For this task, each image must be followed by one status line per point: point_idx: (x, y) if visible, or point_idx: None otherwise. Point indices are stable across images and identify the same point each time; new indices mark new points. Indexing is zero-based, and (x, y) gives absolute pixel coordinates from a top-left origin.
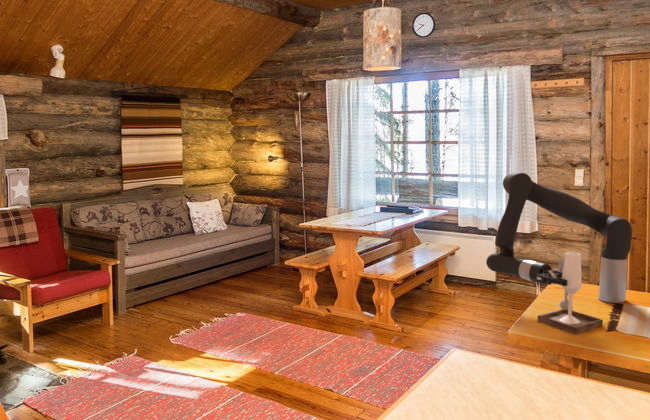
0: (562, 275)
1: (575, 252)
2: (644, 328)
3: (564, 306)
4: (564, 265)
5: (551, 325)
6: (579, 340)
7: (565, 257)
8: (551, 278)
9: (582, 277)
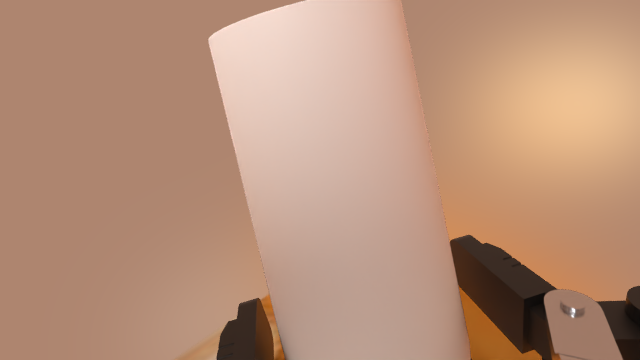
0: (453, 293)
1: (211, 38)
2: (184, 352)
3: None
4: (433, 166)
5: None
6: (467, 308)
7: (409, 58)
8: (628, 297)
9: (246, 304)
